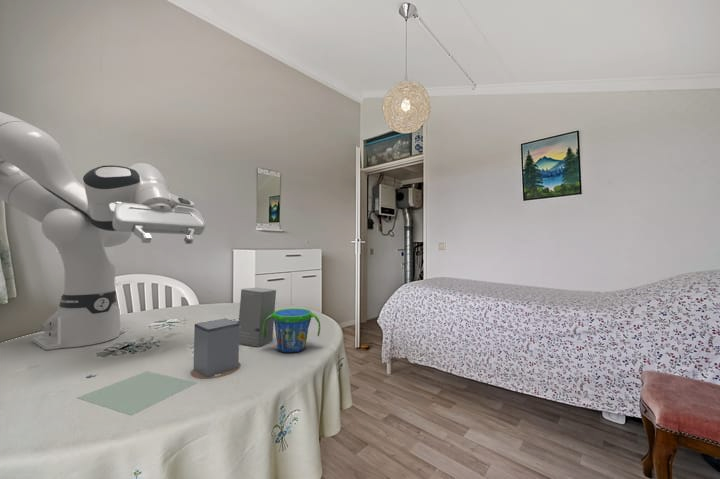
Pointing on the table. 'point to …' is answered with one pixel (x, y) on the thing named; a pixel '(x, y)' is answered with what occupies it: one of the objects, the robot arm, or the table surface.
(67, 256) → the robot arm
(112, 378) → the table surface
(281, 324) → the snack cup
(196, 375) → the brown knobbed lid
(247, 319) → the skincare box
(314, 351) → the table surface
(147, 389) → the mat
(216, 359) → the gray box
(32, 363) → the table surface
